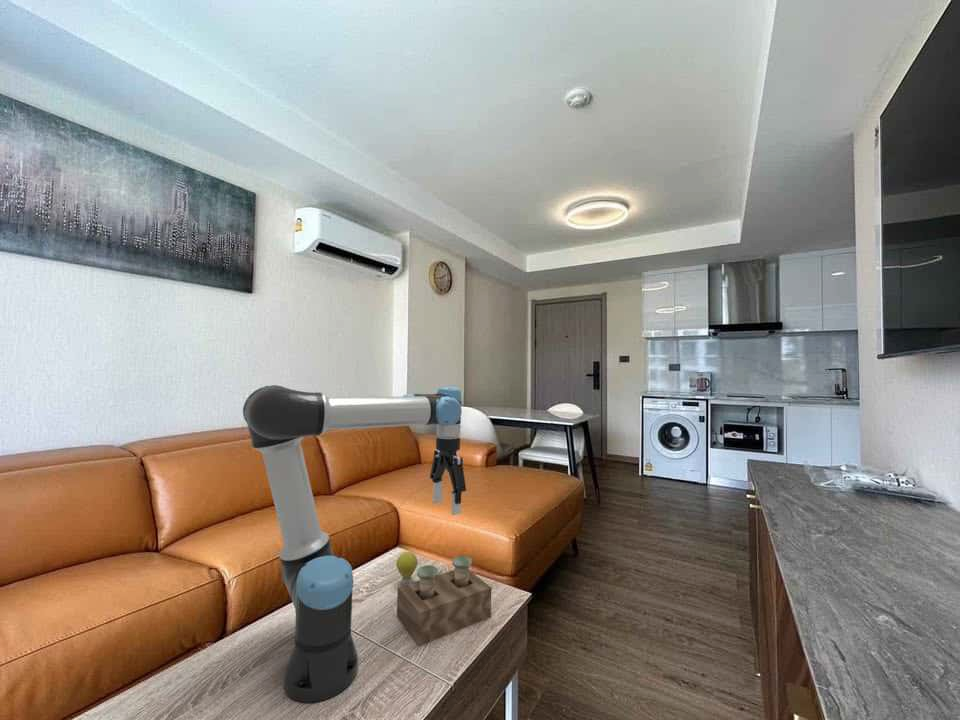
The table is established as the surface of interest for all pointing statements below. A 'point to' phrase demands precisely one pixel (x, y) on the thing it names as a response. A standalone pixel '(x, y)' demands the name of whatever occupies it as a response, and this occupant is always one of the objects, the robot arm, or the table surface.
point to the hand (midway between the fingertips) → (446, 508)
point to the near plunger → (427, 581)
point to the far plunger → (461, 570)
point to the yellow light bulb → (406, 566)
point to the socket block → (443, 607)
